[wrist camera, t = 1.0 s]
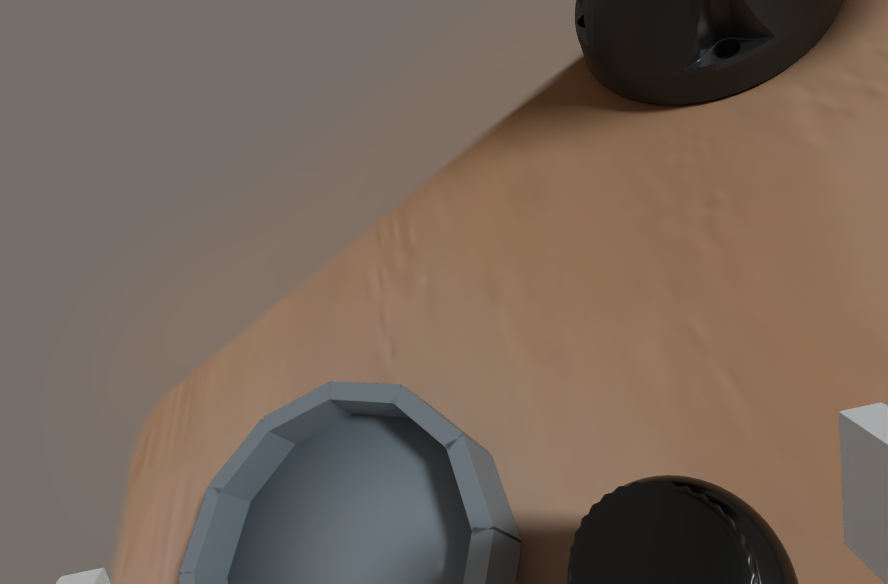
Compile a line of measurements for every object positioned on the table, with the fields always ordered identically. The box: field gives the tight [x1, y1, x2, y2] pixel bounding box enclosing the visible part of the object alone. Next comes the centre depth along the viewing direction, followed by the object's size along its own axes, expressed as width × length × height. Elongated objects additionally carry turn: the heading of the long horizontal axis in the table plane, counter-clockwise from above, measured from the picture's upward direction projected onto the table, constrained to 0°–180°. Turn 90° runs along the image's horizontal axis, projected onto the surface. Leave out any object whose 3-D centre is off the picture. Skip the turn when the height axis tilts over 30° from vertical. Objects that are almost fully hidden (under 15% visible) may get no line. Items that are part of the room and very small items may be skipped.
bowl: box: [179, 381, 521, 584], centre depth 33 cm, size 17×17×4 cm
